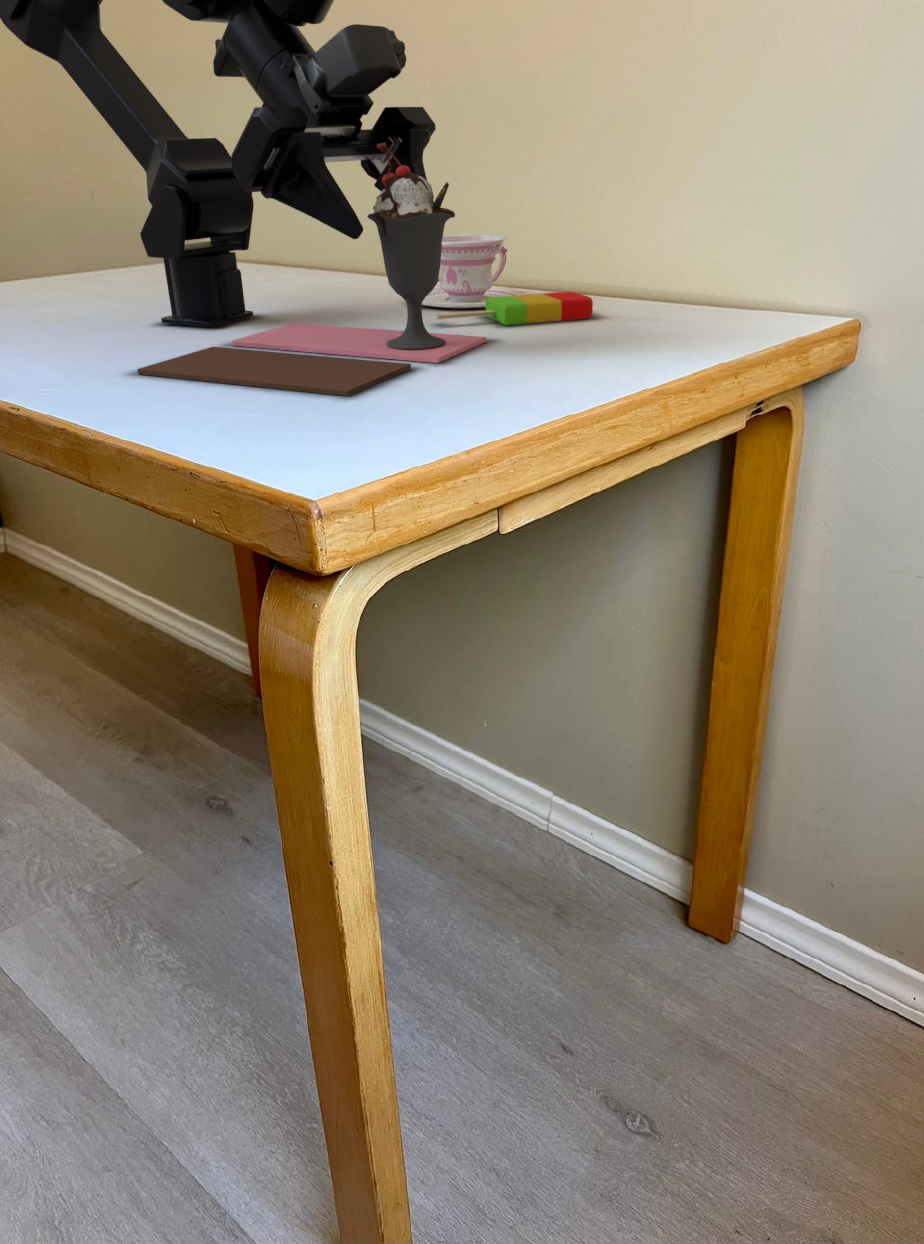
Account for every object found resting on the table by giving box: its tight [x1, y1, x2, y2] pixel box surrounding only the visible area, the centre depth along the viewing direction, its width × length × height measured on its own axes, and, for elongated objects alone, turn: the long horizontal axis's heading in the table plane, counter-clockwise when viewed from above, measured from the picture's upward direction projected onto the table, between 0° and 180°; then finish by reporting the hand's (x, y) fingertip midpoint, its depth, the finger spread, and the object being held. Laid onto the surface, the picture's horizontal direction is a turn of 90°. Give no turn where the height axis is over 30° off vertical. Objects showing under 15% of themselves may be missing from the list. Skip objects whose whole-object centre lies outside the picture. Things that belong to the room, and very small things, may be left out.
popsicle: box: [435, 291, 594, 326], centre depth 91 cm, size 6×15×2 cm, turn 109°
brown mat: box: [136, 346, 412, 397], centre depth 74 cm, size 19×9×1 cm, turn 64°
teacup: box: [422, 233, 526, 309], centre depth 100 cm, size 12×12×6 cm
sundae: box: [367, 143, 456, 350], centre depth 77 cm, size 7×7×15 cm
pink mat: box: [231, 322, 487, 364], centre depth 83 cm, size 20×9×1 cm, turn 64°
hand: (398, 229), depth 77 cm, fingers open, 9 cm apart
